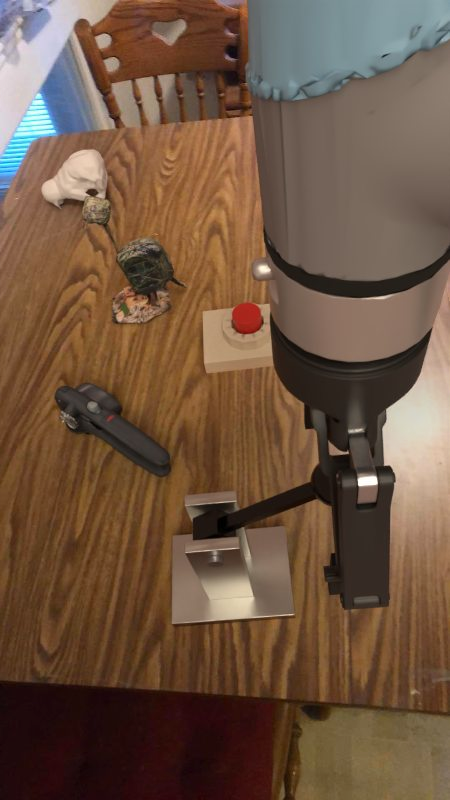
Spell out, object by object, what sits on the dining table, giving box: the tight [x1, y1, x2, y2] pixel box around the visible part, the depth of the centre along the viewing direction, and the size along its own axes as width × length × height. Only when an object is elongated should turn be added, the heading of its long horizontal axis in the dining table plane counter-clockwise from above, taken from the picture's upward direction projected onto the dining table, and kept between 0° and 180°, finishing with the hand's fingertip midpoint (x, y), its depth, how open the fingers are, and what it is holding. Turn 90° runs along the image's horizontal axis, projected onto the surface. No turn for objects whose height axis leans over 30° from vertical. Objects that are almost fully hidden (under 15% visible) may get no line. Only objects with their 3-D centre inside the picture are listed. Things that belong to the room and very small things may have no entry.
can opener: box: [53, 381, 172, 477], centre depth 67 cm, size 18×7×6 cm, turn 50°
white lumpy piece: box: [40, 148, 109, 209], centre depth 95 cm, size 6×8×12 cm
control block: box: [202, 302, 274, 374], centre depth 74 cm, size 12×9×4 cm
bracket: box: [170, 490, 296, 628], centre depth 52 cm, size 12×9×15 cm
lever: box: [192, 462, 331, 540], centre depth 44 cm, size 15×4×4 cm
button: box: [232, 302, 262, 334], centre depth 72 cm, size 4×4×2 cm
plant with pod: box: [81, 195, 187, 324], centre depth 73 cm, size 8×11×20 cm
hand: (333, 499), depth 43 cm, fingers open, 13 cm apart
